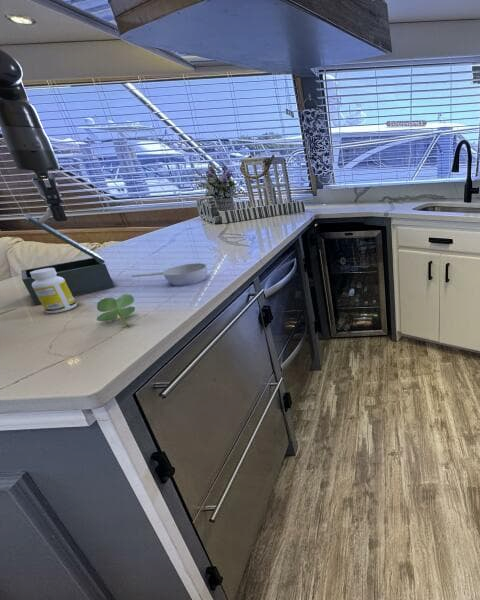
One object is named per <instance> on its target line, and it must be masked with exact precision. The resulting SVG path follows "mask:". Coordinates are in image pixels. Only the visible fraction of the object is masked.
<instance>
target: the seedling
mask: <svg viewBox="0 0 480 600" xmlns="http://www.w3.org/2000/svg"><path fill="white" fill-rule="evenodd" d="M134 302H135V297H134V296H133V295H132V294H129V293H125V294H122V295H121V296H120V297H118V298H115V297H105V298H103V299H101V300H99V301H98V302H97V303H96V309H97V311H99V312H101V314H100V315H98V316H97V317H96V320H97V322H109V321H115V320H117V319H118V317H119V318H121V320H122V322H123V323H125V325H126V326H127V327H130V325H129V323H128V322H126V321H125V319H124V318H127V317H129V316H131V315H132V314H133V313H134V312H135V310H136V307H135V306H131V305H132V304H133V303H134Z"/></svg>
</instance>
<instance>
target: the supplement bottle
mask: <svg viewBox="0 0 480 600" xmlns="http://www.w3.org/2000/svg"><path fill="white" fill-rule="evenodd" d="M30 274H31V277H32V278H33V279H35V281H34V282H33V283H32V287H33V289H34V291H35V293H36V294H37V296H38V298H39V300H40V302H41V304H40V305H42V307H43V309H44V311H45V313H47V314H57V313H62V312H66V311H69V310H71V309H73V308H75V307H77V301H76V300H75V298H74V296H72V294H71V292H70V290H69V288H68V286H67V284H66V282H65V280H64V278H62V277H59V276H56V274H57V272H56V271H55V269H54V268H45V269H39V270H35V271H32V272H30Z"/></svg>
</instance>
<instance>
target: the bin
mask: <svg viewBox="0 0 480 600" xmlns="http://www.w3.org/2000/svg"><path fill="white" fill-rule="evenodd" d="M45 268H54V269H55V271H56V272H57V274H56V276H59V277H62V278H64V280H65V282H66V284H67V286H68V288H69V290H70V292H71V294H72V296H73V297H77V296H82V295H85V294H90V293H94V292H99V291H102V290H106V289H111V288H115V285H114V284H115V283H114V281H113V280H112V277H111V275H110V272H109V270H108V268H107V265H106V263H105V262H104V263H102V262H100V261H98V260H96V259H95V258H93V257H89V258H84V259H77V260H71V261H67V262H61V263H56V264H50V265H49V264H48V265H43V266H38V267H33V268H27V269H21V271H20V273H21V281H22V282H23V284H24V286H25V288H26V289H27V291H28V294H29V295H30V297H31V299H32V302H34V304H35V306H38V305H42V304H41V302H40V300H39V298H38V296H37V294H36V293H35V291H34V289H33V287H32V283H33V282H34V281H35V279H33V278H32V277H31V274H30V272H32V271H35V270H39V269H45Z"/></svg>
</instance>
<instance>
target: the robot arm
mask: <svg viewBox="0 0 480 600" xmlns="http://www.w3.org/2000/svg"><path fill="white" fill-rule="evenodd" d="M23 73H24V72H23V69H22V66H21V65H20V63H19V61H17V59H16V58H14V56H12V55H11V54H9V53H8V52H7V51H6V50H4V49H2V48H0V131H1V135H2V138H3V140H4V143H5V146H6V148H7V150H8V152H9V155H10V157H11V160H12V161H13V163H14V166H15V168H16V169H17V170H19V171H31V172H32V173H33V174H34V176H35V178H31V181H32V183H33V185H34V186H35V187H36V189H37V191H38V194H39V195H40V197H41V198H43V201H44V203H45V204H46V205H47V208H48V207H50V209H51V211H52V214H53V215H52V216H51V217H52V218H53V220H55V221H56V222H58V223H59V222H61V223H62V222H67V221H68V217H67V215H66V212H65V210H64V208H63V200H62V199H61V196H62V195H61V192H60V189H59V187H58V182H57V179H56V178H55V177H51V175H50V173H49V171H59V170H60V169H61V166H60V164H59V161H58V159H57V156H56V153H55V151H54V149H53V146H52V144H51V141H50V139H49V137H48V134H47V133H46V131H45V129H44V127H43V124H42V122H41V119H40V117H39V114H38V112H37V110H36V108H35V106H34V105H33V104H32V103H31V101H30V100H29V97H28V94H27V91H26V89H25V86H24V84H23V80H22V78H23V76H24V75H23Z"/></svg>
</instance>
